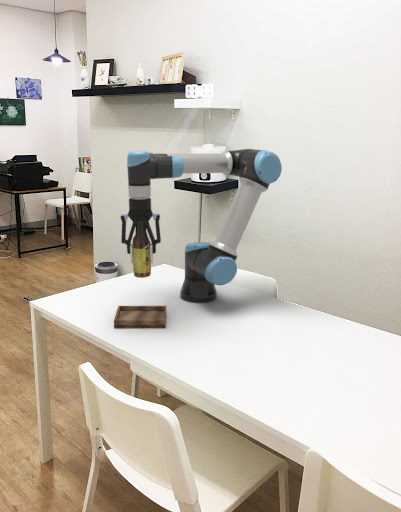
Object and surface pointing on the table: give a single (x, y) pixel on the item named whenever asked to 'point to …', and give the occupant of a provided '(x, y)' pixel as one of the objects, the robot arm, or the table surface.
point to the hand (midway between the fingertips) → (141, 262)
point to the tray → (140, 317)
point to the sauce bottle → (141, 252)
